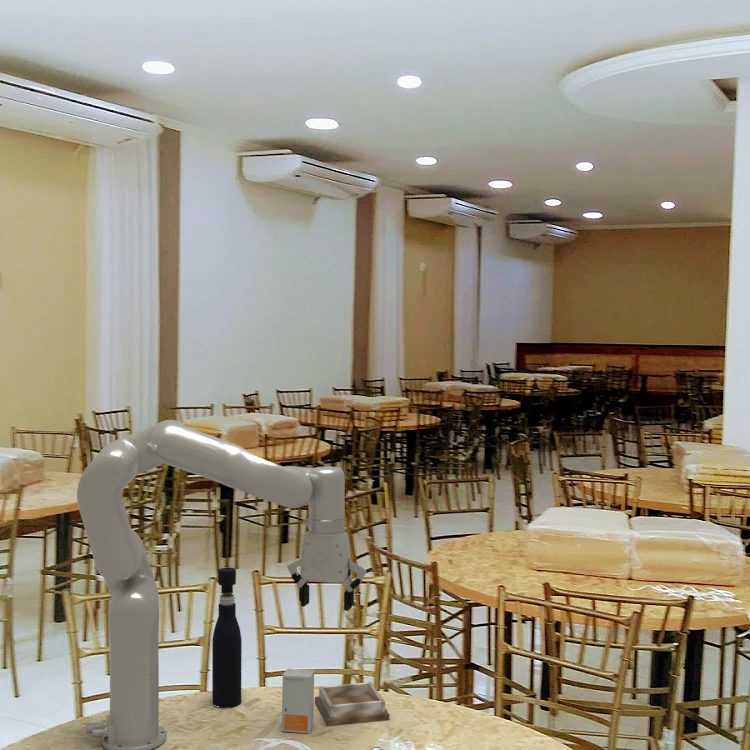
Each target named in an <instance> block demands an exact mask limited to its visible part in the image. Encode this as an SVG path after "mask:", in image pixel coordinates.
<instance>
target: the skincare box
mask: <svg viewBox="0 0 750 750" xmlns="http://www.w3.org/2000/svg"><path fill="white" fill-rule="evenodd" d="M281 691H282V695H281V696H282V697H281V702H282V703H281V732H283V733H284V732H287V733H288V732H289V733H297V734H298V733H300V734H310V733H311V731H312V729H313V728H314V725H315V724H314V721H315V720H314V719H315V716H314V714H315V713H314V711H315V710H314V708H315V707H314V706H315V670H313V669H302V668H301V669H300V668H298V669H297V668H296V669H295V668H286V670H284V673H283V674H282V690H281Z"/></svg>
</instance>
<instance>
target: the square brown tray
mask: <svg viewBox="0 0 750 750" xmlns="http://www.w3.org/2000/svg"><path fill="white" fill-rule="evenodd" d="M318 691H319V692H318V696H314V704H315V705H316V707H317V709H318V710H319V714H320V716H321V717H322V719H323V721H324V723H325V724H326V726H327V727H328V726H331V727H332V726H341V725H350V724H360V723H369V722H370V723H371V722H380V721H381V722H382V721H383V722H384V721H390V713H389V712H388V710H387V709H386V701H385V700H384V698H383V697H382V696H381V694H380V693H379V691H378V690H377V688H376V687H375V685H374V684H373V683H372V681H370V682H359V683H356V682H355V683H346V684H335V685H323V686H319V687H318Z"/></svg>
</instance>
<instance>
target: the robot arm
mask: <svg viewBox="0 0 750 750" xmlns="http://www.w3.org/2000/svg"><path fill="white" fill-rule="evenodd" d="M164 464H165V465H168V466H171V467H172V468H176V469H179V470H181V471H185V472H188V473H191V474H194V475H197V476H199V477H202V478H204V479H208V480H211V481H213V482H217V483H220V484H222V485H223V486H225V487H228V488H231V489H234V490H238V491H241V492H243V493H245V494H249V495H250V496H253V497H256V498H259V499H261V500H264V501H267V502H270V503H273V504H276V505H279V506H282V507H285V508H288V509H298V508H301V507H304V506H305V505H306V504H307V503H308V517H307V518H306V519H305V518H303V519H302V526H306V527H307V530H308V531H307V530H306V531H305V532H304V535H303V538H302V539H303V541H302V547H301V555H300V556H301V557H300V559H297V560H296V561H294V562H292V563H290V564H287V567H286V568H287V569H288V573H289V574H290V578H291V579H292V580H293V581H294V582H295V584H296V587H297V588H298V589H299V590H298V597H299V598H298V600H299V602H300V607H302V608H304V607H307V606H308V604H310V585H309V584H308V583H309V582H315V583H316V582H319V583H331V584H340V583H341V585H342V586H343V587H344V589H345V591H344V592H343V594H344V595H343V610H344V611H346V612H349V611H350V610H351V609H352V608H353V606H354V605H355V589H356V588H357V587H358V586H359V585H360V584H361V583H362V582H363V580H364V578H365V576H366V574H367V572H368V571H367V569H366V568H363V567H362V566H361V565H359V564H357V563H356V562H354V561H352V555H351V552H352V551H351V546H350V539H349V534H348V532H347V531H345V514H346V513H345V512H346V511H345V509H346V508H345V506H346V505H345V503H346V502H345V497H346V496H345V495H346V494H345V481H346V477H345V472H344V470H343V469H342V468H341V467H337V466H317V467H304V466H294V465H285V466H282V465H281V464H277V463H274V462H271V461H269V460H267V459H264V458H261V457H260V456H257V455H255V454H254V453H252V452H250V451H248V450H247V449H245V448H244V447H242V446H241V445H239V444H237V443H234V442H232V441H228V440H225V439H222V438H220V437H217V436H214V435H211V434H208V433H205V432H203V431H200V430H198V429H194V428H191V427H189V426H186V425H185V424H184V423H182V422H181V421H179V420H176V419H167V420H166V419H165V420H162V421H159V422H158V423H156V424H153V425H150V426H149V427H146V428H144V429H142V430H139V431H136V432H134V433H132V434H131V433H130V434H129V435H126V436H123V437H121V438H119V439H116V440H113V441H111V442H109V443H107V444H106V445H104V446H103V448H101V450H100V451H99V453H98V454H97V455H96V456H95V457H94V459H92V461H90V463H89V464H88V465H87V466H86V468H85V469H84V470H83V472H82V474H81V475H80V476H81V477H80V478H79V482H78V484H77V488H76V500H77V505H78V506H77V507H78V510H79V514H80V518H81V520H82V524H83V528H84V530H85V535H86V537H87V541H88V544H89V548H90V550H91V554H92V557H93V563H94V565H95V568H96V571H97V572H98V573H99V574H100V576H101V578H104V580H105V583H106V586H107V588H108V589H107V590H108V592H109V594H110V599H111V600H110V603H109V609H108V610H109V611H108V632H109V633H108V635H109V715H108V719H106V720H104V719H103V721H102V722H89V723H88V722H87V723H86V734H92V737H101V736H102V738H101V744H102V746H103V748H105V749H106V750H153V749H156V748H158V747H160V746H161V745H162V744H164V742H165V741H167V740H166V739H167V734H168V733H167V730H166V728H165V727H163V726H161V725H160V722H159V720H160V719H159V717H160V715H159V714H160V712H159V710H160V709H159V708H160V707H159V706H160V703H159V702H160V701H159V699H160V698H159V697H160V694H159V693H160V691H159V690H160V689H159V688H160V687H159V685H160V681H159V679H160V675H159V673H160V672H159V671H160V669H159V668H160V664H159V662H160V661H159V659H160V657H159V653H160V652H159V651H160V649H159V640H160V639H159V637H160V636H159V630H160V628H159V627H160V600H159V599H160V597H159V596H160V595H159V589H158V586H157V583H156V579H155V577H154V573H153V570H152V567H151V563H150V562H149V558H148V555H147V552H146V549H145V546H144V543H143V539H142V538H141V537H140V536H139V534H138V533H137V531H135V530H134V529H132V526H131V523H130V520H129V518H128V514H127V510H126V507H125V504H124V502H123V492H124V490H125V488H126V486H128V485H129V484H130V483H132V481H133V480H134V479H135V478H136V477H137V476H138V475H140V474H142V473H145V472H148V471H150V470H153V469H155V468H157V467H159V466H162V465H164ZM297 568H300V571H299V572H300V573H299V572H298V569H297ZM352 571H353V572H354V573H355V574H356V577H355V579H354V580H353V579H352V577H351V576H352Z"/></svg>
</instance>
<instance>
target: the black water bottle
mask: <svg viewBox="0 0 750 750" xmlns="http://www.w3.org/2000/svg"><path fill="white" fill-rule="evenodd" d="M217 571H218V575H217V577H218V581H217V583H218V585H219V586H221V587H220V588H221V590H220V591H221V592H220V593H221V595H219V603H218V616H217V620H216V622H215V626H214V629H213V634H212V640H211V641H212V645H211V646H212V649H211V651H212V661H211V663H212V664H211V665H212V674H211V676H212V677H211V678H212V682H211V684H212V689H211V690H212V691H211V692H212V694H211V695H212V696H211V697H212V699H211V700H212V701H211V703H212V705H213V704H214V705H216V706H219V707H231V708H235V707H237V705H238V706H239V705H241V704H242V652H243V651H242V647H243V646H242V643H243V642H242V639H243V638H242V635H241V628H240V624H239V621H238V619H237V616H236V614H237V613H236V611H237V607H236V603H235V599H236V598H235V595H234V594H233V593H234V586H235V585H236V583H237V569H236V568H234V567H221V568H219V569H218V570H217ZM214 705H213V706H214ZM216 706H215V707H216ZM234 706H235V707H234ZM219 707H218V708H219Z"/></svg>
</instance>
